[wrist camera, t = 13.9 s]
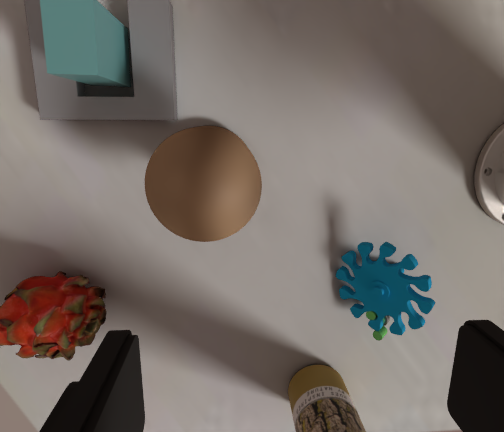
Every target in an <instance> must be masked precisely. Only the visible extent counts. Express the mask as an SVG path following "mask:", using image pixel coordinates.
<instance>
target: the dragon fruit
mask: <svg viewBox="0 0 504 432" xmlns="http://www.w3.org/2000/svg"><path fill="white" fill-rule="evenodd" d="M64 274H65V275H66V273H63V272H62V271H60V272H58V273H57V274H56V276H55V277H52V278H51V277H45V276H34V277H31V278H28V279H26V280H23V281H22V282H21V283H19V284H18V285H17V286H16V288H15V289H14V290H13V291H12V292H11V293H9V294H8V296H6V297H5V299H4V300H6V299H7V300H6V301H5V303H4V304H3V305H2V306H0V346H2V345H15V344H18V345H21V346H22V347H21V348H20V350H19V352H18V353H16V355H18V356H20V357H21V358H30V357H34V355H35V357H36V358H46V357H49V358H51V359H54V358H57V357H64V358H65V359H67V360H71V359H72V358H73V355H74V354H75V346H80V347H81V346H85V345H90V344H91V343H92V342H93V340H94V338H95V334H96V333H97V332H98V330H99V328H100V326H101V325H102V324H103V323H104V322H105V320H106V309H105V303H104V301H103V300H102V299H103V298H105V295H106V293H105V289H103V288H101V287H97V286H93V287H89V288H86V287H85V284H88V283H90V282H89V279H88V278H87V277H83V276H82V275H79V276H75V277H70V278H67V277H66V276H65V275H64ZM99 297H101V298H99ZM102 306H103V307H102ZM36 354H39V355H36Z"/></svg>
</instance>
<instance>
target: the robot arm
mask: <svg viewBox="0 0 504 432" xmlns="http://www.w3.org/2000/svg"><path fill="white" fill-rule="evenodd" d="M474 185H475V191H476V196H477V198H478V201H479V203H480V205H481V207H482V208H483V209H484V211H485V212H486V213H487V214H488V215H489V216H490V217H491V218H492V219H494V220H495V221H497V222H499V223H501V224H503V225H504V124H502V125H501V126H500V127H499V128H498V129H497V130H496V131H495V132H494V133H493V134H492V135H491V137H490V138H489V139H488V140H487V142H486V144H485V145H484V147H483V149H482V151H481V153H480V155H479V158H478V161H477V164H476V169H475V181H474ZM447 406H448V411H449V413H450V415H451V417H452V418H453V419H454V421H455V422H456V423H457V425H458V426H459V427H460V429H461V430H462V431H463V432H504V331H503V330H502V329H500V328H499V327H498V326H497V325H495V324H494V323H493V322H491V321H489V320H468V321H466V322H465V323H464V326H461V327H460V328H459V332H458V339H457V345H456V351H455V357H454V363H453V369H452V376H451V382H450V388H449V394H448V400H447ZM144 423H145V411H144V399H143V387H142V374H141V362H140V350H139V339H138V336H137V335H132V333H131V331H130V330H114V331H108V333H107V334H106V336H105V338H104V339H103V341H102V343H101V345H100V346H99V348H98V350H97V352H96V353H95V355H94V357H93V358H92V360H91V362H90V364H89V365H88V367H87V369H86V371H85V372H84V374H83V376H82V377H81V379H80V381H79V382H72V383H70V384H69V385H68V386H67V388H66V389H65V391H64V392H63V394H62V396H61V397H60V399H59V401H58V402H57V404H56V405H55V407H54V409H53V410H52V412H51V414H50V415H49V417H48V418H47V420H46V422H45V423H44V425H43V427H42V428H41V430H40V432H143V429H144Z"/></svg>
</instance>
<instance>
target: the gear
mask: <svg viewBox="0 0 504 432" xmlns="http://www.w3.org/2000/svg"><path fill="white" fill-rule="evenodd" d="M372 250H373V244H372V243H369V242H362V243H360V244H359V245H358V251H359V253H360V255H361V257H362V266H359V265H358V264H357V263H356V253H355V252H354V251H349V252H347V253H346V254H345V255H343V256H342V260H343V261H344V262H345V263H346V264H347V265H349V267H350V268H351V269H352V271H353V273H354V276H355V278H354V277H352V276H351V275H350V273H349V270H348V269H347V268H346V267H344V266H342V267H341V268H340V269H338V271H337V273H336V277H337V278H338V279H339V280H343V281H346V282H348V283H349V284H350V285H351V286H352V287H353V288H354V289H355V291H356V292H354V291H353V290H352V289H351V288H350V287H348V286H346V285H344V286H342V287H341V288H340V289H339V293H340V298H342V299H348V298H353V299H357V300H359V301H361V302H362V303H363V304H364V306H363V305H360V304H354V305H353V306H352V307H351V308H350V310H351V312H352V314H353V315H354V317H355V318H359V317H360V316H361V315H362V314H363V313H364V312H367V313H366V316H367V318H368V319H370V321H369V322H368V325H369V326H370V327H371V328H373V329H374V330H375V331H374V332H373V337H374V338H375V339H376V340H382V338H383V337H384V336H385V335H386V333H387V329H386V328H385V327H384V325H386V324H387V323H388V322H389V320H390V316H391V317H392V318H393V319H394V322H393V324H392V325H391V326H390V332H391V333H393V334H397V335H402V334H403V333H404V331H405V325H404V324H403V322H402V319H401V312H405V313H407V314H408V315H409V322H408V323H409V326H410V327H411V328H412V329H418V328H420V327H422V326H423V325H424V323H425V320H424V318H423V317H422V316H420V315H419V314H418V313H417V312H416V311H415V310H414V308H413V307H412V304H411V302H410V300H413V301H415V302H416V303H417V304H418V307H419V309H420V310H421V312H423V313H425V314H428V313H429V312H430V311H431V309H432V308H433V306H434V304H435V301H434V300H432V299H431V298H427V297H423V296H421V295H419V294H418V293H416V292H415V291H414V290H413V289H412V288H411V287H410V284H413V285H415V286H416V287H417V288H418V289H420V290H421V291H424V292H427V291H429V289H430V288H431V284H432V283H431V277H430V276H428V275H423V276H419V277H412V276H408V275H405V274H403V273H404V269H407V270H413V269H414V268H415V267H416V266H417V265H418V262H417V260H416V259H415V257H414V256H413V255H412V254H408V255H406V256H405V257H404V258H403V259H402V261H401V262H399V263H395V264H389V263H387V262H386V260H385V257H390V256H391V255H392V254H393V253H394V252H395V251H396V247H395V246H393V245H392V244H390V243H388V242H385V243H384V244H382V245H381V246H380V255H379V258H378V259H377V261H372V260H371V259H370V258H369V253H370V252H371V251H372Z"/></svg>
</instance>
